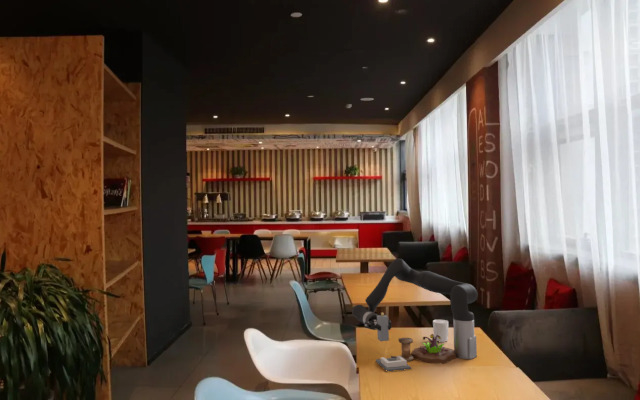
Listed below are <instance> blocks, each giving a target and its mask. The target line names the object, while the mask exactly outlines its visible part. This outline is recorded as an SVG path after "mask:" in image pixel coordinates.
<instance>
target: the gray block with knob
mask: <svg viewBox="0 0 640 400" xmlns="http://www.w3.org/2000/svg"><path fill="white" fill-rule="evenodd" d="M378 315H379V316H377V324H378V325H380V326H381V331H379V330H376V331H377V332H376V333H377V340H378V341H379V342H388V341H390V338H389V337H390V336H389V334H390V333H389V332H390V330H388V320H389V316H388V315H385V314H384V312H380V314H378Z"/></svg>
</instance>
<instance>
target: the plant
mask: <svg viewBox="0 0 640 400" xmlns="http://www.w3.org/2000/svg"><path fill="white" fill-rule="evenodd" d="M437 336H438V339H440V338H441V337H440V336H439V335H436V337H435V339H434V333H432V334H430V336H429V337H428V336H423V337H422V340H423V341H425V340H426V339H427V340H428V341H426V342H427V343H425V342H422V344H423V345H419V346H418V347H415V348H413V350H412V351H411V352H410V355H411V356H413V360H414V359H415V360H417V361H419V362H424V363H428V364H433V363H434V364H441V365H442V364H443V365H444V364H447V363H449V362H451V361H452V360H455V359H456V358H457V357H456V355H455V352H454V348H450V347H444V346H445V343H441V344H440V345H439V342H436V339H437Z"/></svg>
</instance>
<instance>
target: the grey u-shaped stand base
mask: <svg viewBox="0 0 640 400" xmlns="http://www.w3.org/2000/svg"><path fill="white" fill-rule="evenodd" d="M395 357H396V358H391V357H389V358H386V357H384V356H383V357H380V358H379V359H375V363H377V364H378V365H379V366H380V367H381V368H382V367H383V368H384V369H383V368H382V369H383V370H384V371H386V370H387V371H391V372H394V371H393V370H401V371H405V370H404V369H411V370H412V366H410V365H409V364H408V361H406V360H405V359H404V358H402V357H401V355H396V356H395ZM387 371H386V372H387Z"/></svg>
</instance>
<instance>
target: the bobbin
mask: <svg viewBox="0 0 640 400" xmlns="http://www.w3.org/2000/svg"><path fill="white" fill-rule="evenodd" d="M398 342H399V343H400V345H401V355H400V356H401V357H402V358H404V359H405V360H406V361H407V362H412V361H413V360H414V358H413V356H411V344H412V343H414V340H413V338H410V337H400V338H398ZM396 357H397V356H395V355H394V356H393V355H391V356H390V358H396Z"/></svg>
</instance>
